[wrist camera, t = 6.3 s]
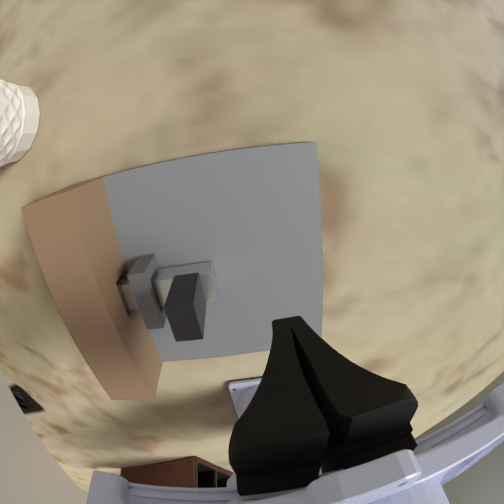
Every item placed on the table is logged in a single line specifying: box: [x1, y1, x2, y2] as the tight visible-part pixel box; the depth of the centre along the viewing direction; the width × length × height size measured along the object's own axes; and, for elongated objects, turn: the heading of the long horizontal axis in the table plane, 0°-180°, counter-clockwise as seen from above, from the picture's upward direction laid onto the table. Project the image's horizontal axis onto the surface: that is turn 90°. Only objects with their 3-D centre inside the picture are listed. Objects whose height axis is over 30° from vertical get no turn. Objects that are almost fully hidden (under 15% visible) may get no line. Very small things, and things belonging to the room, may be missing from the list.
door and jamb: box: [22, 142, 323, 400], centre depth 18 cm, size 18×16×6 cm
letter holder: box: [120, 456, 233, 488], centre depth 30 cm, size 10×20×14 cm, turn 123°
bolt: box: [116, 261, 217, 342], centre depth 17 cm, size 10×2×5 cm, turn 97°
